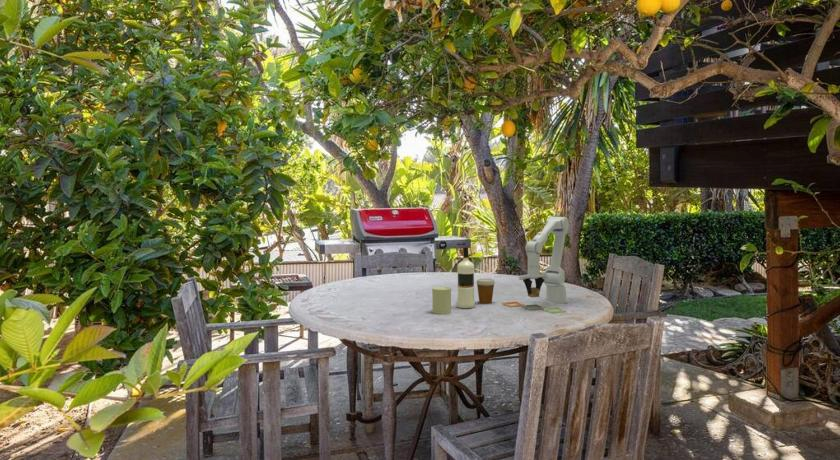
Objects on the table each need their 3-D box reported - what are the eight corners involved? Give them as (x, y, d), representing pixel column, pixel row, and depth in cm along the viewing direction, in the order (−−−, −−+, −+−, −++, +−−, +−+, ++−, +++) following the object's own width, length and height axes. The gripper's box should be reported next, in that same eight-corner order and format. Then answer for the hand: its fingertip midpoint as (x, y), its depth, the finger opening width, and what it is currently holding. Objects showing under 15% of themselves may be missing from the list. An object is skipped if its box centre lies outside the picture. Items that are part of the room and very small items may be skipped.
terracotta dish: (516, 303, 296) (516, 301, 296) (524, 306, 288) (524, 304, 288) (502, 304, 293) (502, 302, 293) (509, 308, 286) (509, 305, 286)
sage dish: (557, 309, 282) (557, 307, 282) (566, 312, 274) (566, 310, 274) (542, 310, 279) (542, 308, 279) (551, 314, 272) (551, 311, 271)
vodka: (453, 307, 288) (452, 247, 286) (462, 304, 296) (462, 245, 293) (469, 309, 283) (469, 248, 280) (478, 306, 290) (478, 246, 288)
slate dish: (536, 306, 289) (536, 304, 289) (544, 309, 281) (544, 307, 281) (522, 307, 286) (522, 305, 286) (530, 311, 279) (530, 308, 279)
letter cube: (535, 295, 286) (535, 287, 285) (539, 296, 282) (539, 288, 282) (527, 295, 284) (527, 287, 284) (531, 297, 281) (531, 289, 280)
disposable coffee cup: (494, 305, 292) (494, 281, 292) (475, 304, 294) (475, 281, 293) (495, 301, 302) (495, 278, 301) (477, 301, 304) (477, 278, 303)
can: (453, 313, 275) (453, 288, 274) (434, 314, 274) (434, 289, 273) (449, 309, 284) (449, 285, 283) (430, 310, 283) (430, 285, 282)
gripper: (542, 264, 288) (542, 291, 289) (516, 265, 284) (516, 293, 285) (550, 265, 281) (549, 293, 283) (523, 267, 277) (523, 295, 278)
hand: (533, 293), depth 283 cm, fingers closed on letter cube, 4 cm apart
